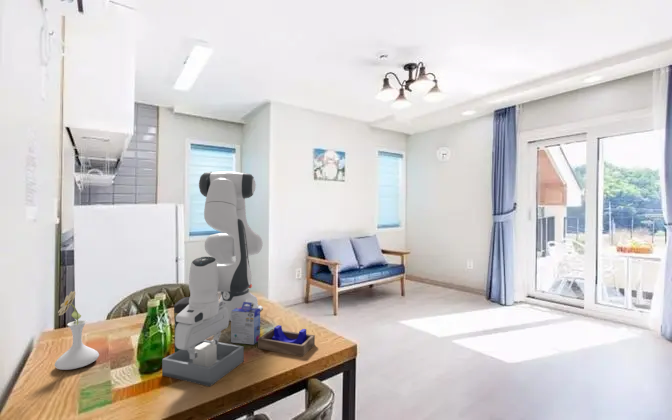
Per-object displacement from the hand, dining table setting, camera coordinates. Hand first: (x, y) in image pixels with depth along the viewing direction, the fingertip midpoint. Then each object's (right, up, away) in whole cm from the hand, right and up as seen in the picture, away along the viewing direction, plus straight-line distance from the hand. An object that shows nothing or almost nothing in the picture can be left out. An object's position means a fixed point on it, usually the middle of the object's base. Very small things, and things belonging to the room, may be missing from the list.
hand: (204, 351), depth 105 cm
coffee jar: (-11, -5, +13) cm, 18 cm away
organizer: (+24, -5, +16) cm, 29 cm away
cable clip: (+25, -5, +17) cm, 31 cm away
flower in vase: (-42, -5, +1) cm, 42 cm away
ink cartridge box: (+8, -5, +21) cm, 22 cm away
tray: (0, -5, 0) cm, 5 cm away
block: (0, -4, 0) cm, 4 cm away
